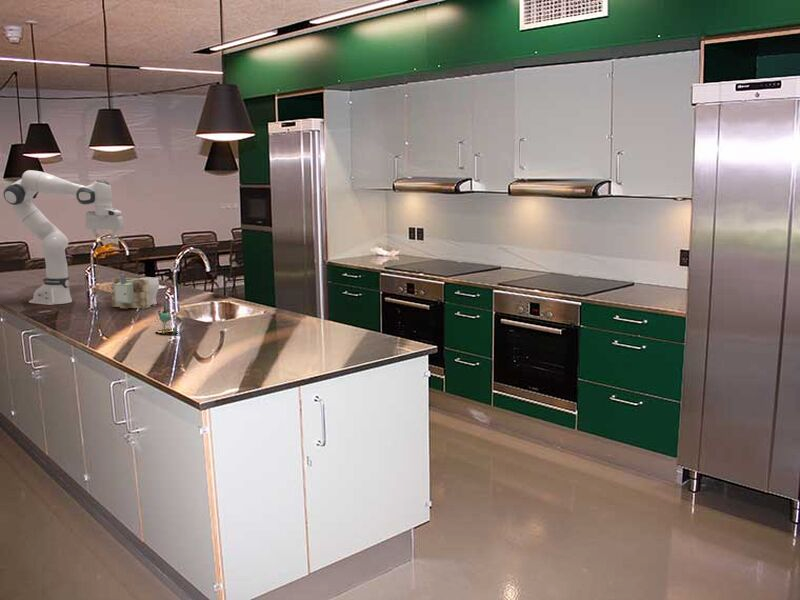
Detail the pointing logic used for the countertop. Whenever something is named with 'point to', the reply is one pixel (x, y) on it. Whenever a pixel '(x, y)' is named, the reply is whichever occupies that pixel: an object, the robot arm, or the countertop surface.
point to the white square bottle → (124, 290)
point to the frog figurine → (165, 320)
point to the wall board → (139, 294)
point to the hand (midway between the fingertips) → (104, 237)
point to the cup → (152, 289)
